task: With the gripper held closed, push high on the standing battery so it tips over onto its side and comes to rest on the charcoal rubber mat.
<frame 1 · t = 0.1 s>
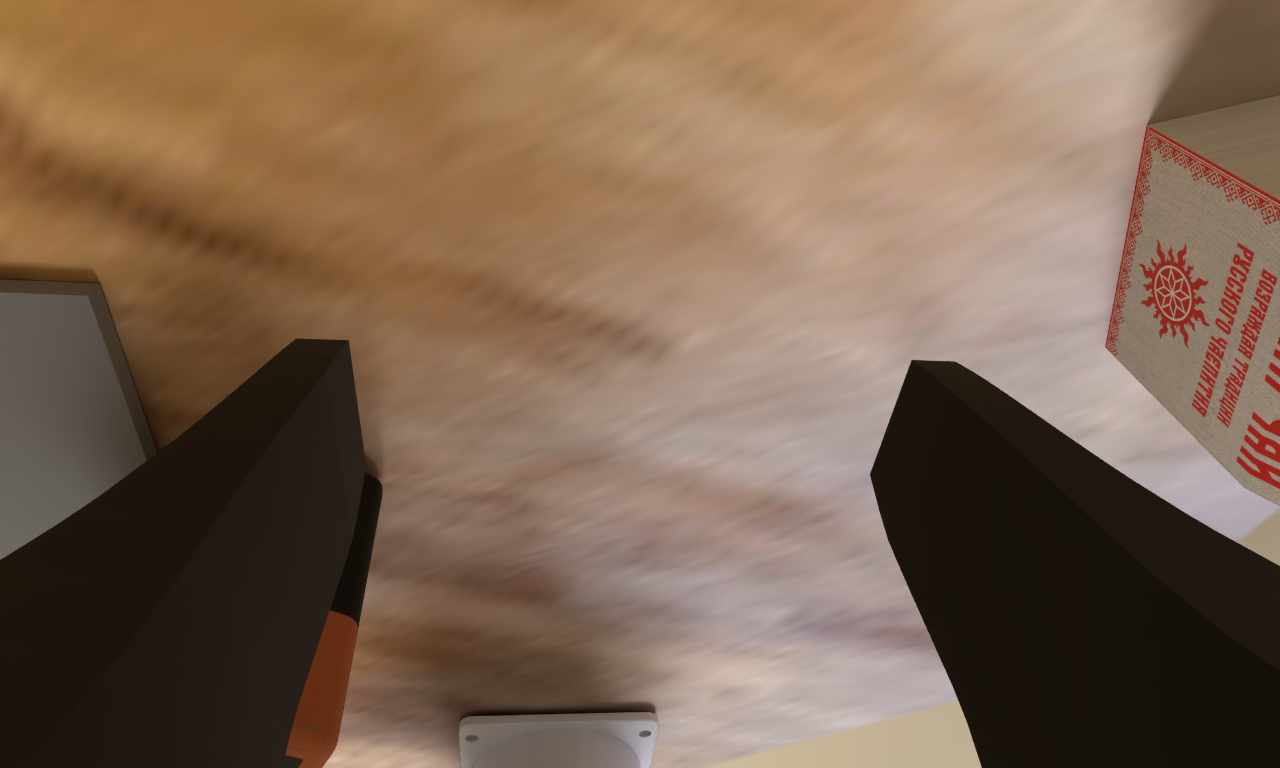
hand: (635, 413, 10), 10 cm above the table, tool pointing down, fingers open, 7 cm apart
battery: (274, 522, 24), on the table, touching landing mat
tea bag: (1188, 227, 21), on the table
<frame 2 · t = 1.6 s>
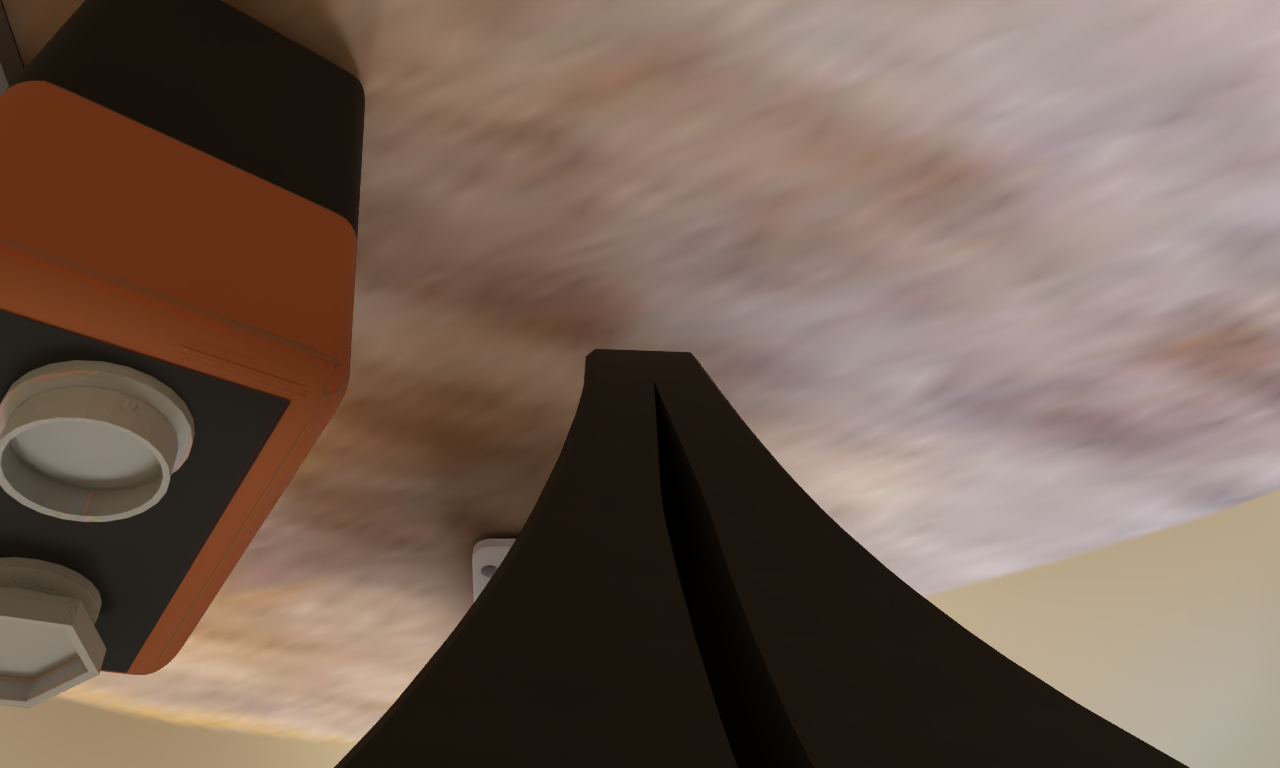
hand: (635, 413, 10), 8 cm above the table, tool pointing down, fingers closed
battery: (196, 158, 16), on the table, touching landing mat
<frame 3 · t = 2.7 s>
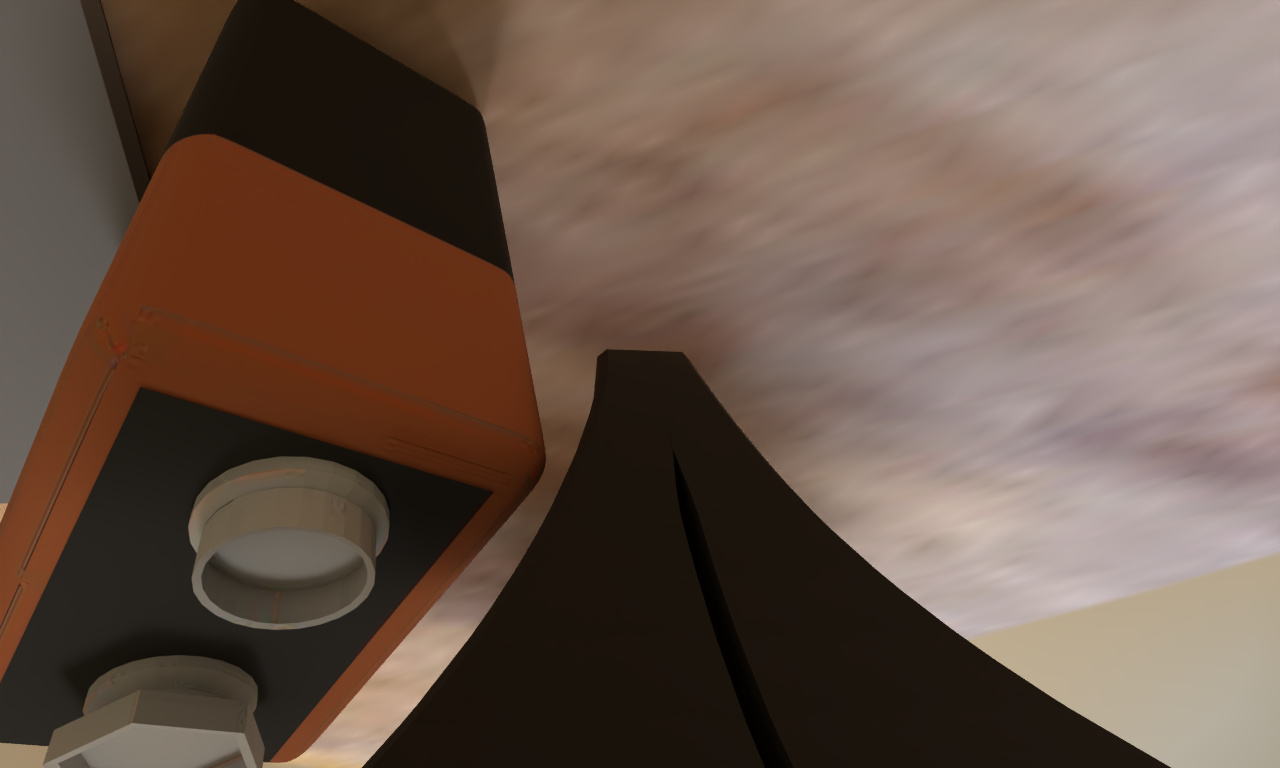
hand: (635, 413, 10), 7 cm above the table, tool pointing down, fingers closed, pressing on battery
battery: (303, 193, 15), on the table, touching gripper, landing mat
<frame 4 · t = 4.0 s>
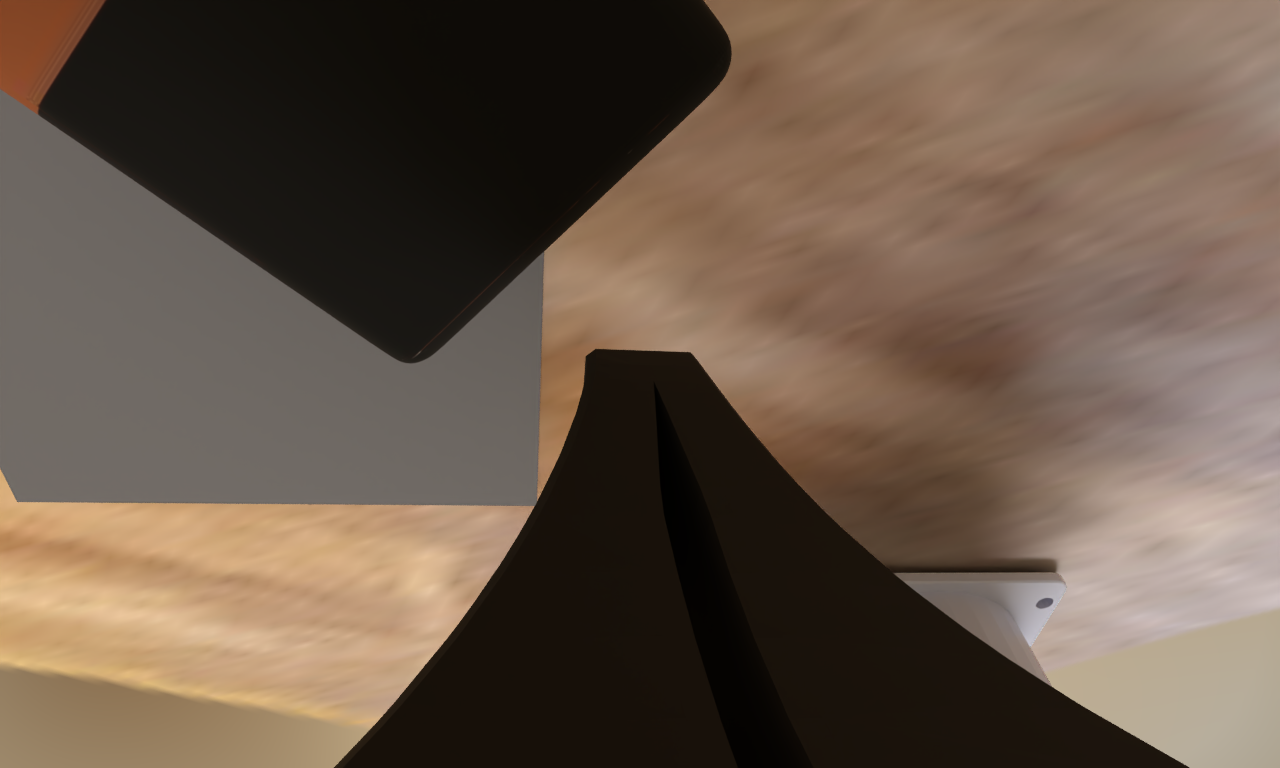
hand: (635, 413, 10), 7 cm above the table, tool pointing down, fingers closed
battery: (573, 192, 13), point 3 cm above the table, touching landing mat
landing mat: (226, 178, 15), on the table
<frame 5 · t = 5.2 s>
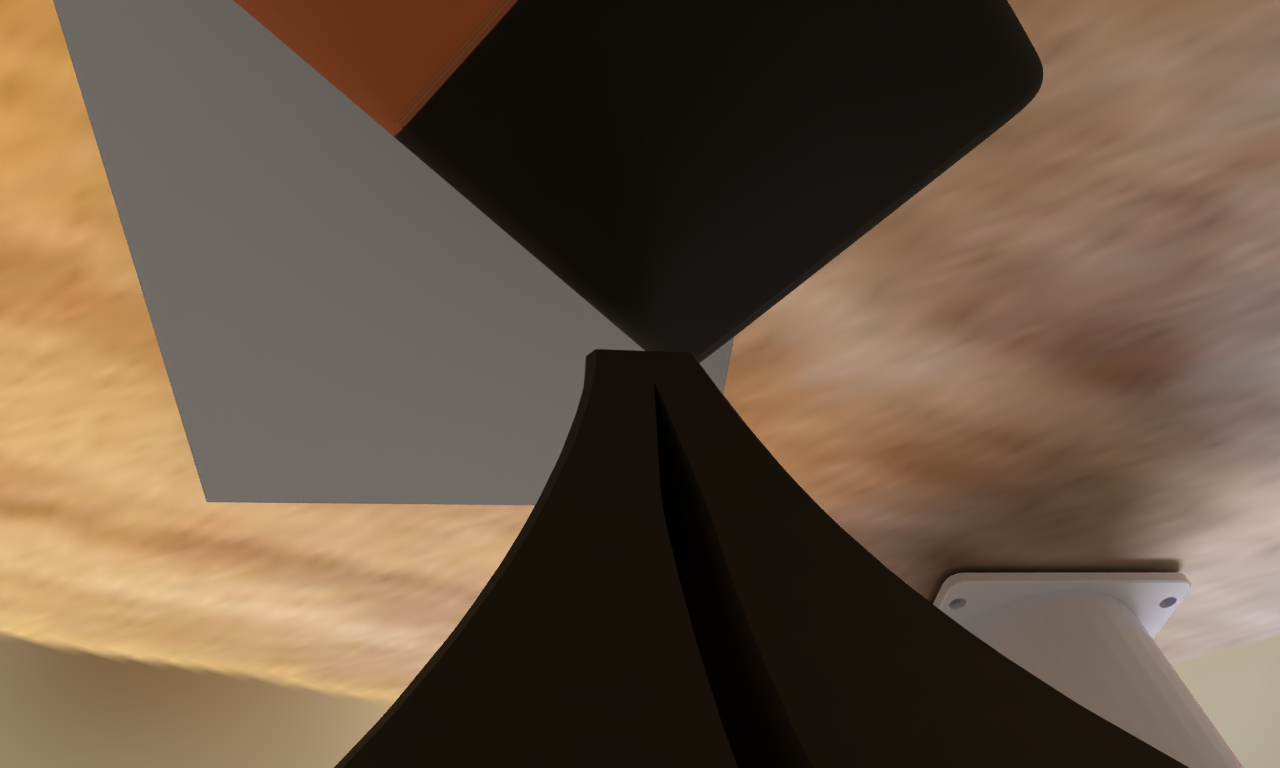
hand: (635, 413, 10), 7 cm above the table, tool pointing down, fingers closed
battery: (823, 206, 13), point 3 cm above the table, touching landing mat
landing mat: (453, 189, 16), on the table
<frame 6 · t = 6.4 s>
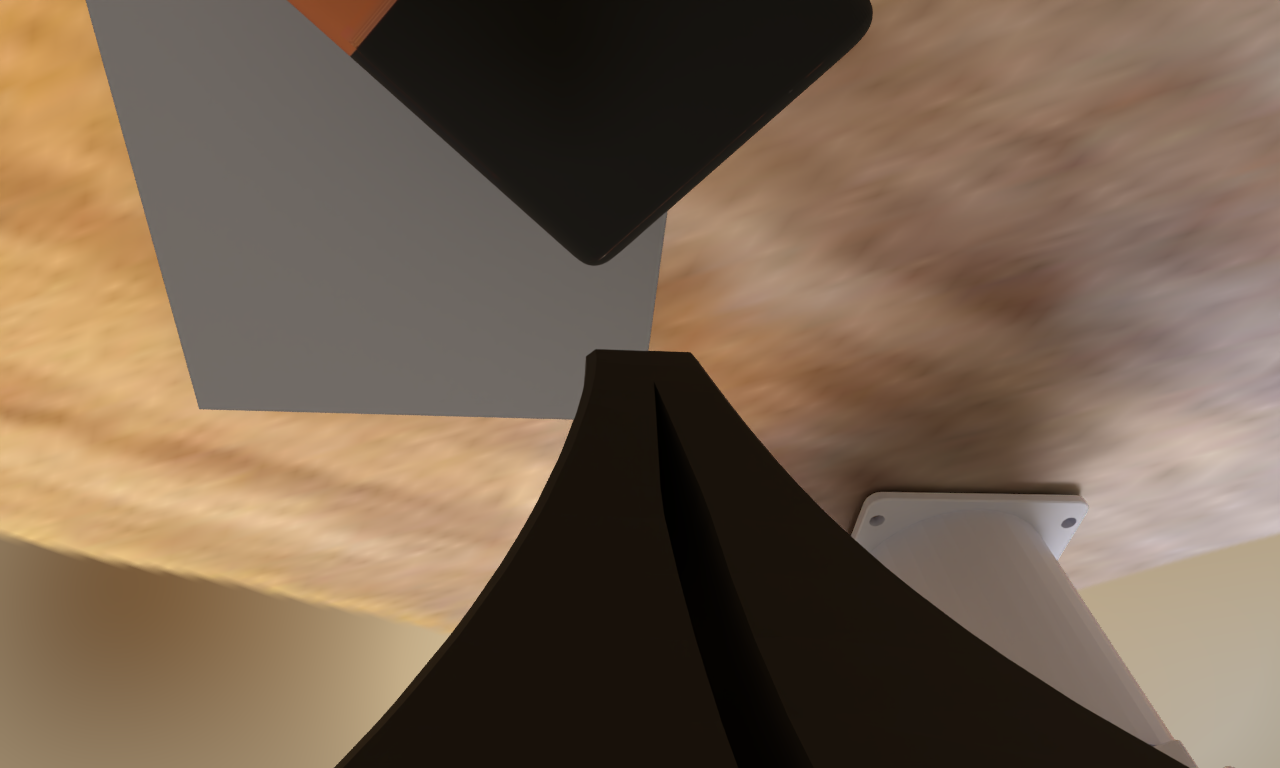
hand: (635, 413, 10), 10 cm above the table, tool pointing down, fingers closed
battery: (718, 132, 16), point 3 cm above the table, touching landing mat
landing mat: (412, 125, 18), on the table
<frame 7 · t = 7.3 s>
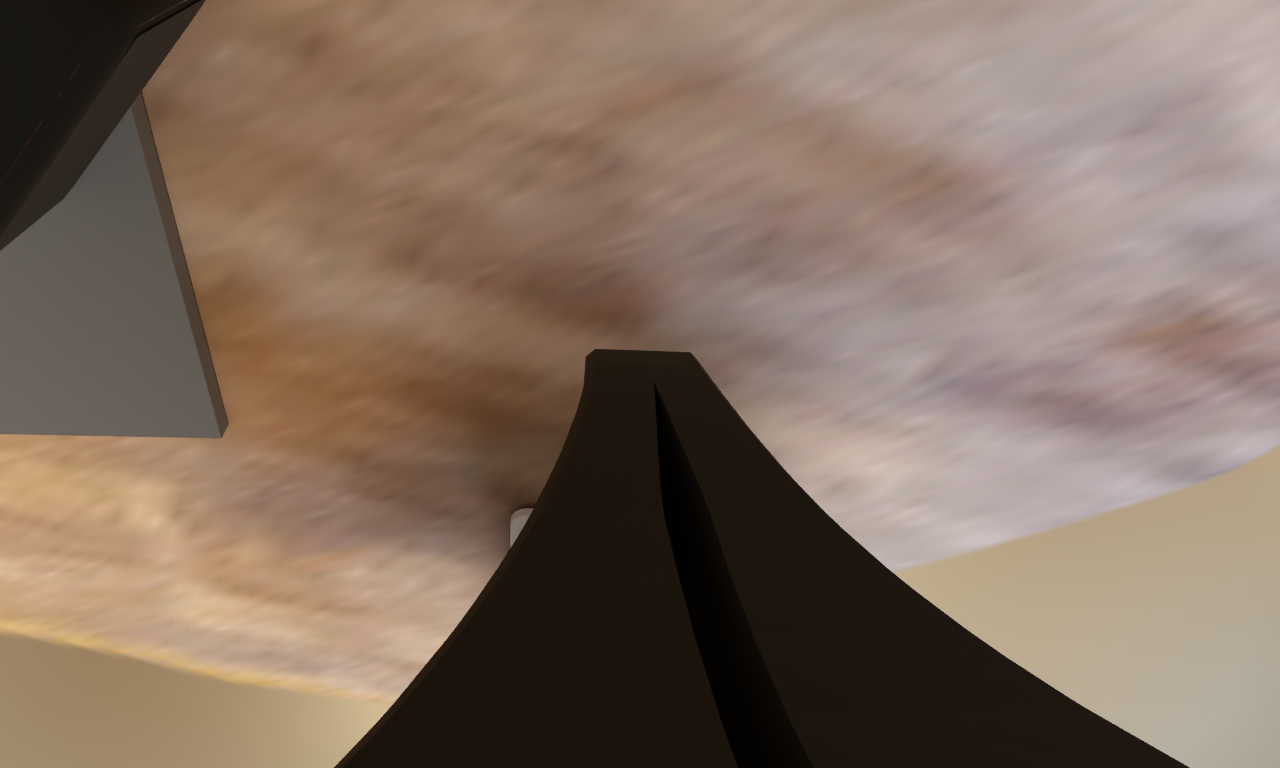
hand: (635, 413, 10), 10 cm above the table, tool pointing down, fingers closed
battery: (104, 139, 15), point 3 cm above the table, touching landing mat
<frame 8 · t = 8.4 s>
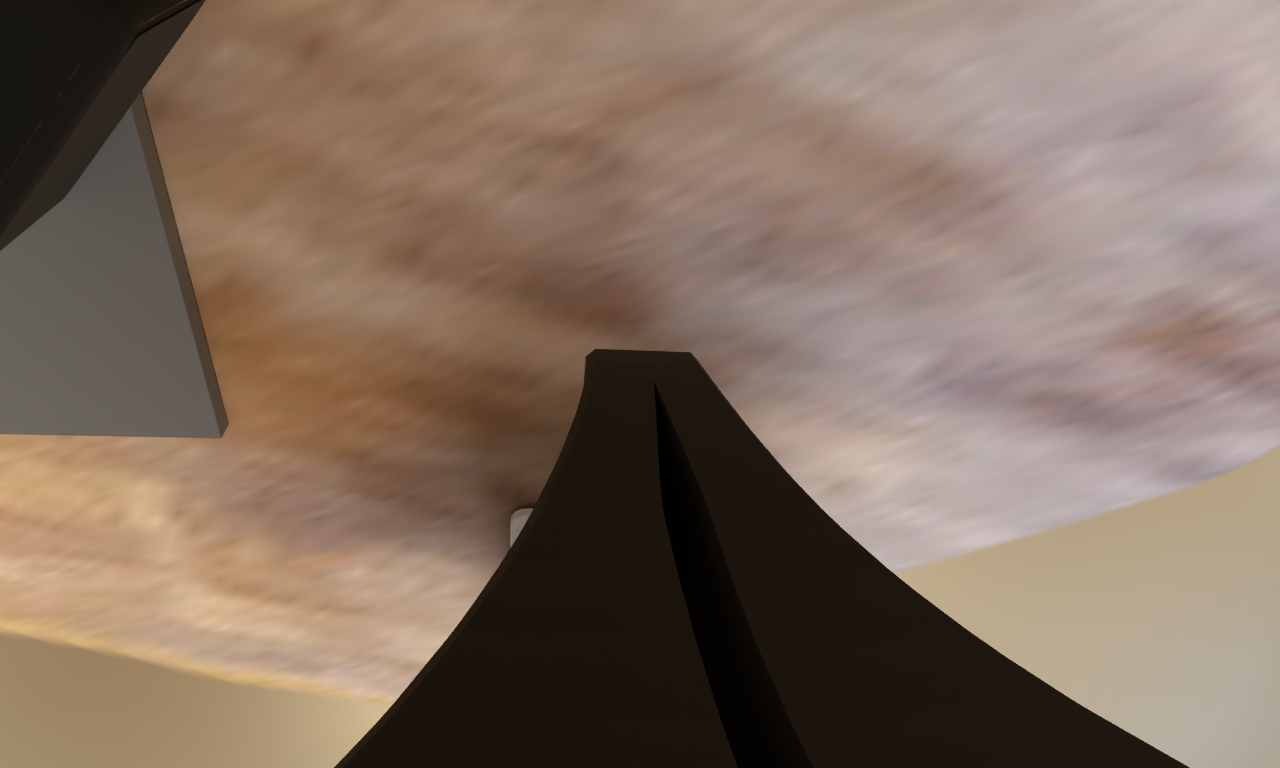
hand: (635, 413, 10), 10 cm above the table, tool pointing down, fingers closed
battery: (104, 139, 15), point 3 cm above the table, touching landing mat
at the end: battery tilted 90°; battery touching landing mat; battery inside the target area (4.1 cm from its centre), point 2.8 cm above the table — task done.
